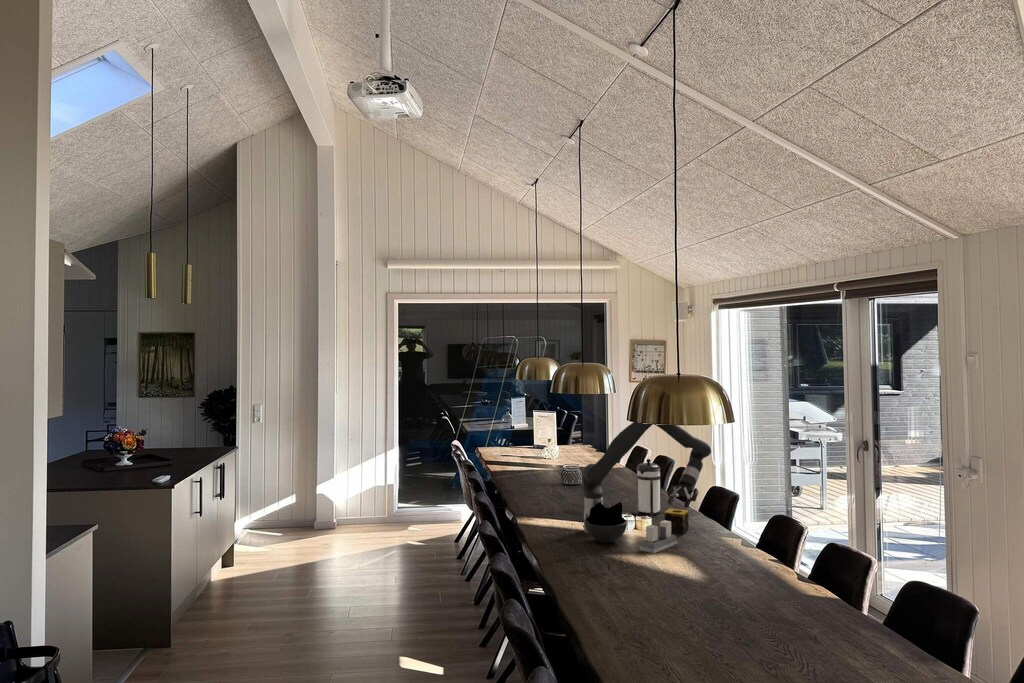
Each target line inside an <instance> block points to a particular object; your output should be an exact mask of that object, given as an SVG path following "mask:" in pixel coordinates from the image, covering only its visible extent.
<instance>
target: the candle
mask: <svg viewBox="0 0 1024 683" xmlns="http://www.w3.org/2000/svg"><path fill="white" fill-rule="evenodd" d="M689 514H690V513H689V510H687V509H680V508H679V509H676V508H670V507H669V508H668V509H667V510H665V511H664V512H663V515H664V516H663V517H664V520H666V521H671V534H675V533H676V534H677V535H685V534H686V533H687V532H688V531H689V524H690V523H689V516H690V515H689ZM676 534H675V535H676Z"/></svg>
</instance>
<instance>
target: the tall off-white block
mask: <svg viewBox="0 0 1024 683" xmlns="http://www.w3.org/2000/svg"><path fill="white" fill-rule="evenodd" d="M659 534H660V537H663V538H669V537H671V535H672V533H671V521H666V520H665V519H664V520H661V521H659Z"/></svg>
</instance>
